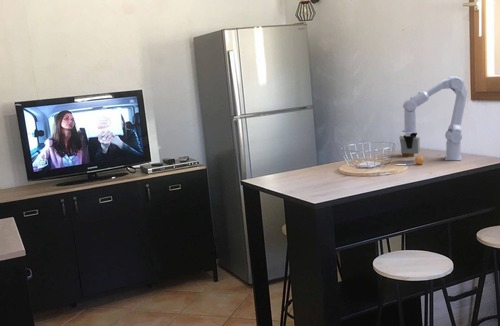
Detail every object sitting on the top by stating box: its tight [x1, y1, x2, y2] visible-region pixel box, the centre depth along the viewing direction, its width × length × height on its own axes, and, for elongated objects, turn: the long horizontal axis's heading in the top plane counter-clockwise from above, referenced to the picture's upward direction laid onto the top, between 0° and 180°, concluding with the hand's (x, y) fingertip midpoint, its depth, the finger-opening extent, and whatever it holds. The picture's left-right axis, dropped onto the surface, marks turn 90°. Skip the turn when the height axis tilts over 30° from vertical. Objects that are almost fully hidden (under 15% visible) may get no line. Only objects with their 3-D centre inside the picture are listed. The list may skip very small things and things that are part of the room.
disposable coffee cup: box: [398, 133, 415, 158], centre depth 303 cm, size 10×10×12 cm
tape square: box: [395, 161, 414, 167], centre depth 284 cm, size 8×8×1 cm
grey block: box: [400, 136, 421, 155], centre depth 288 cm, size 6×9×8 cm
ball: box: [414, 155, 425, 165], centre depth 280 cm, size 4×4×4 cm
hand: (410, 147), depth 288 cm, fingers closed on grey block, 6 cm apart
